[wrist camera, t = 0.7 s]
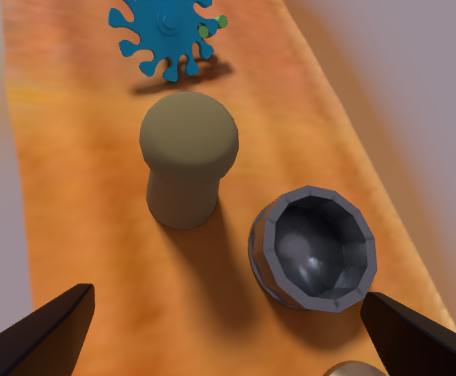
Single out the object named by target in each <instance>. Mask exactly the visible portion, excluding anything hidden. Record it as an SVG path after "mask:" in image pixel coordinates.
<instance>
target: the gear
mask: <svg viewBox="0 0 456 376" xmlns="http://www.w3.org/2000/svg"><path fill="white" fill-rule="evenodd" d="M123 1H124V2H125V3H126V4H127V5H128V7H129V8H130V10H131V11H132V13H133V15H134V21H133V22H128V21H126V20H125V18H124V17H123V15H122V14H121V12H120V11H119V10H117V9H115V8H111V10H110V12H109V16H108V24H109V25H110V26H111V27H114V28H118V27H124V28H128V29H130V30H132V31H134V32H135V33H137V34H138V35H139V37H140V43H139V44H138V45H135V44H133V43H131V42H130V41H128V40H122V41H120V42H119V47H120V50H121V52H122V54H123V56H124V57H129V56H131V55H133V53H135V52H136V51H138V50H141V49H148V50H151V51H152V52H153V54H154V59H153V60H152V61H150V62H149V61H146V62H142V63H141V64H140V65H139V68H140V70H141V71H142V72H143V73H144V74H145V75H146V76H148V77H150V76H152V75H153V74H154V72H155V68H156V65H157V64H158V63H159V61H161V60H162V59H163V58H165V57H167V58H169V59H170V61H171V66H170V67H169V68H168V69H166V70H165V71H164V73H163V78H164V79H166V80H168V81H173V82H177V80H178V73H177V64H178V61H179V58H180V56H181V55H182V54H184V55H185V56H186V57H187V63H186V65H185V69H184V70H185V73H186V75H194V74H197V73H199V67H198V65H197V64H196V62H195V61H194V58H193V54H192V45H193V43H194V42H195V43H197V44H198V46H199V55H200V57H201V58H202V59H208V58H209V57H210V56H211V55H212V54H213V52H214V50H213V48H212V46H210V45H208V44H206V43H205V42H204V41H203V40H202V39H203V38H209V37H212V36H213V35H214V34H215V33H216V31H217V29H221V28H224V27H226V26H227V24H228V20H227V17H226V16H224V15H221V16H219V17H216V18H215V19H205V18H202V17H201V16H199V15H198V14H197V13H196V12H195V11H194V8H193V5H194V3H197V4H199V5H200V6H201V7H203V8H207V7H209V6H211V5H212V0H123Z"/></svg>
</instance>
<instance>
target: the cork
mask: <svg viewBox="0 0 456 376" xmlns="http://www.w3.org/2000/svg"><path fill="white" fill-rule="evenodd" d="M139 142H140V146H141V150H142V153H143V157H144V161H145V162H146V163H147V165H148V166H149V168H150V174H149V180H148V186H147V197H146V200H147V204H148V207H149V210H150V212H151V213H152V214H153V216H154V217H155V219H156V220H158V221H159V222H161V223H162V224H163V225H165V226H167V227H170V228H173V229H190V228H194V227H197V226H199V225H200V224H202V223H203V222H205V221H206V220H207V219H208V218H209V217H210V215H211V214H212V213H213V211H214V209H215V205H216V202H217V196H218V189H219V181H220V179H221V178H222V177H224V176H225V174H226V173H227V172H228V171H229V169H230V168H231V167H232V165H233V163H234V162H235V159H236V156H237V152H238V149H239V139H238V129H237V127H236V124H235V122H234V119H233V117H232V116H231V115H230V113H229V112H228V111H227V110H226V108H225V107H224V106H223V105H222V104H221V103H219V102H218V101H216V100H215V99H214V98H212V97H210V96H207V95H204V94H202V93H198V92H189V91H184V92H177V93H173V94H170V95H168V96H166V97H164V98H162V99H160V100H159V101H158V102H157V103H155V104H154V105H153V106H152V107H151V108H150V109H149V110H148V112H147V114H146V116H145V118H144V119H143V121H142V125H141V129H140V139H139Z"/></svg>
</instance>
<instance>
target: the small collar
mask: <svg viewBox="0 0 456 376" xmlns="http://www.w3.org/2000/svg"><path fill="white" fill-rule="evenodd" d="M323 376H387V375H385V374H384V373H383V372H382V371H380V370H379V369H377V368H375V367H373V366H371V365H369V364H366V363H363V362H359V361H345V362H342V363H339V364H337V365H335V366H333V367H332V368H331V369H329V370H328V371H327V372H326V373H325V374H324V375H323Z"/></svg>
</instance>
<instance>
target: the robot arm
mask: <svg viewBox="0 0 456 376" xmlns="http://www.w3.org/2000/svg"><path fill="white" fill-rule="evenodd" d="M94 310H95V290H94V285H93V284H85V283H80V284H77V285H75V286H74V287H72V288H71V289H69V290H67V291H66V292H64V293H63V294H61V295H59V296H58V297H56V298H55V299H53V300H52V301H50V302H48V303H47V304H45V305H44V306H42V307H40V308H39V309H37V310H36V311H34V312H33V313H31V314H29V315H28V316H27V317H25V318H23V319H22V320H20V321H18V322H17V323H15V324H14V325H12V326H11V327H9V328H7V329H6V330H4V331H3V332H1V333H0V376H71V375H72V372H73V370H74V368H75V365H76V363H77V360H78V357H79V354H80V351H81V349H82V346H83V343H84V340H85V337H86V334H87V332H88V329H89V326H90V323H91V320H92V318H93V315H94ZM360 315H361V319H362V321H363V323H364V325H365V327H366V329H367V332H368V334H369V336H370V338H371V340H372V342H373V344H374V346H375V349H376V351H377V353H378V355H379V357H380V359H381V361H382V363H383V365H384V367H385V369H386V370H387V372H388V374H389V376H456V333H455V332H453V331H451V330H449V329H447V328H446V327H444V326H442V325H440V324H438V323H436V322H434V321H432V320H431V319H429V318H427V317H425V316H423V315H421V314H419V313H418V312H416V311H414V310H412V309H410V308H408V307H406V306H405V305H403V304H401V303H399V302H397V301H395V300H393V299H392V298H390V297H388V296H386V295H384V294H382V293H380V292H368V293H367V294H366V295H365V298H364V301H363V304H362V307H361V311H360Z"/></svg>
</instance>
